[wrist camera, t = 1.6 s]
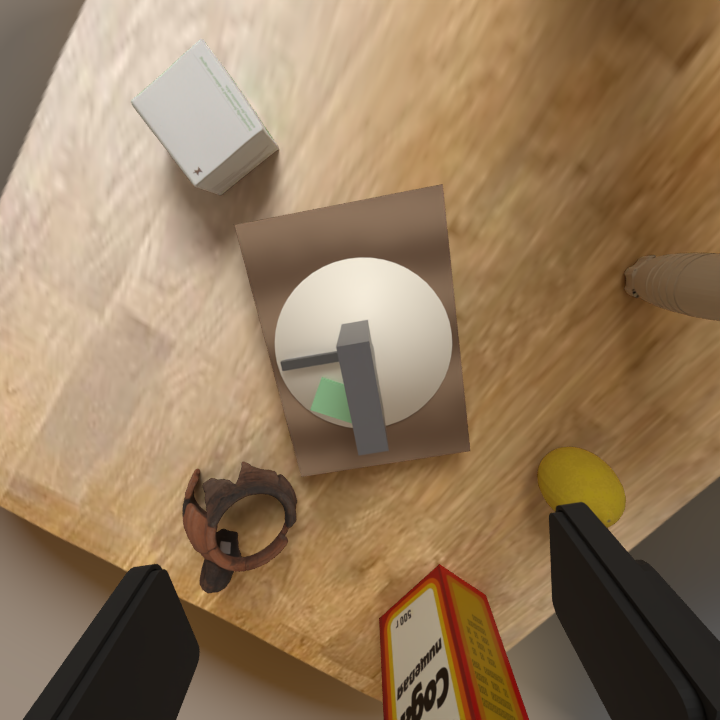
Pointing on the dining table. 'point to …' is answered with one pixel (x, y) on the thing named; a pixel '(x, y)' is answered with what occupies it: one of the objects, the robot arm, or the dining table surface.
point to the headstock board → (345, 241)
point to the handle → (678, 283)
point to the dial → (387, 329)
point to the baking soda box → (445, 656)
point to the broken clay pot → (224, 544)
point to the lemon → (581, 483)
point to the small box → (204, 121)
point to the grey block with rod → (355, 384)
